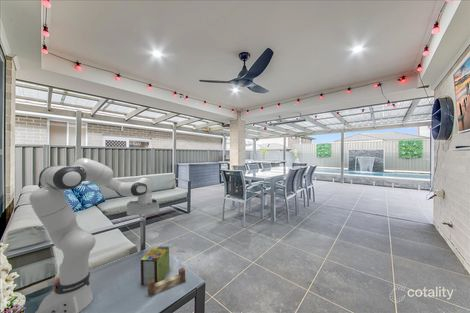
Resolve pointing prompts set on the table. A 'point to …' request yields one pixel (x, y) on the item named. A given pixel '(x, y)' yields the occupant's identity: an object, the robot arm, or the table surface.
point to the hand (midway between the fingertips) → (142, 221)
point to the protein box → (155, 264)
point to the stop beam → (166, 283)
